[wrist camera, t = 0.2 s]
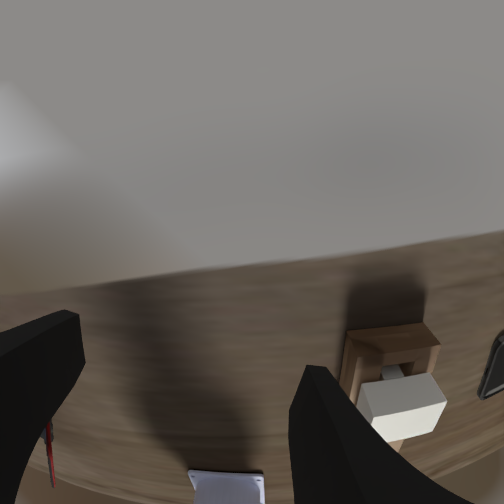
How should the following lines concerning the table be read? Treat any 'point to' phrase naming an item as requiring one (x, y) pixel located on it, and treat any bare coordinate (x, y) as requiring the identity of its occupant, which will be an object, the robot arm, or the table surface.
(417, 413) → the block
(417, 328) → the brown wooden frame
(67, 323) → the robot arm
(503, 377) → the phone
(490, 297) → the table surface
